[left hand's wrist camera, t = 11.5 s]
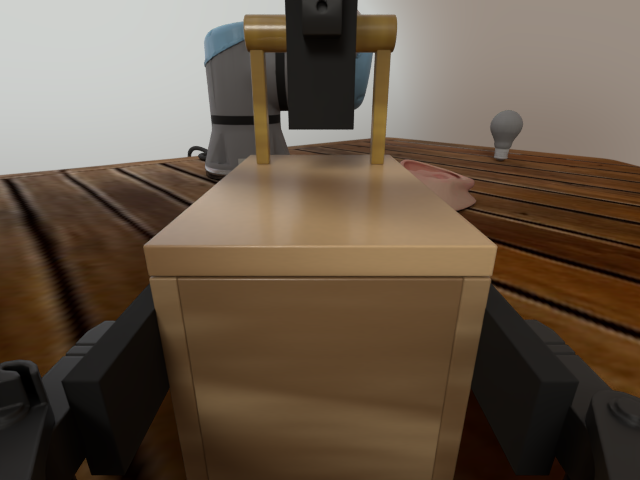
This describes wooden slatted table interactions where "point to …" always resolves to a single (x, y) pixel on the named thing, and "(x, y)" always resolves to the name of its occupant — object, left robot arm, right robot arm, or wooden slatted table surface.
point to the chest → (320, 373)
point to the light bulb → (505, 132)
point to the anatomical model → (443, 183)
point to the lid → (320, 199)
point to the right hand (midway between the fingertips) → (320, 121)
